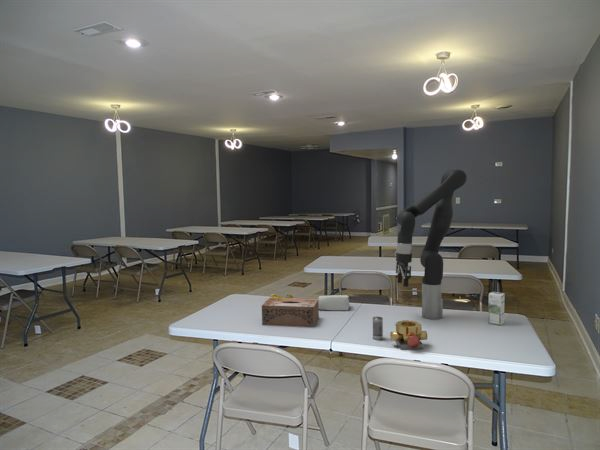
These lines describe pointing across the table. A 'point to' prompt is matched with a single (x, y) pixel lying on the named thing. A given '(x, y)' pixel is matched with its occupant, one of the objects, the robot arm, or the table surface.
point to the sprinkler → (281, 297)
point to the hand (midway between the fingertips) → (402, 284)
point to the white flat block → (334, 302)
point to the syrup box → (496, 308)
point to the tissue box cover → (290, 312)
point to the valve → (408, 335)
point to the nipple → (377, 328)
